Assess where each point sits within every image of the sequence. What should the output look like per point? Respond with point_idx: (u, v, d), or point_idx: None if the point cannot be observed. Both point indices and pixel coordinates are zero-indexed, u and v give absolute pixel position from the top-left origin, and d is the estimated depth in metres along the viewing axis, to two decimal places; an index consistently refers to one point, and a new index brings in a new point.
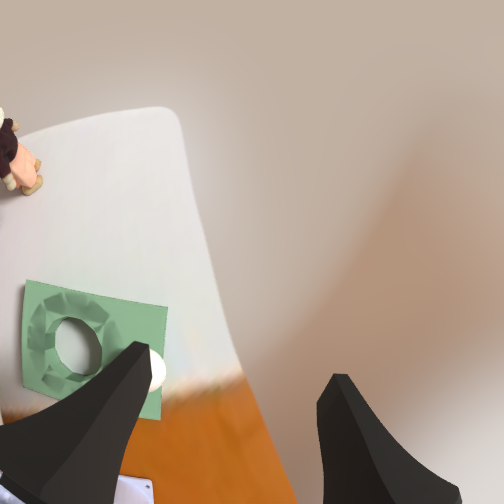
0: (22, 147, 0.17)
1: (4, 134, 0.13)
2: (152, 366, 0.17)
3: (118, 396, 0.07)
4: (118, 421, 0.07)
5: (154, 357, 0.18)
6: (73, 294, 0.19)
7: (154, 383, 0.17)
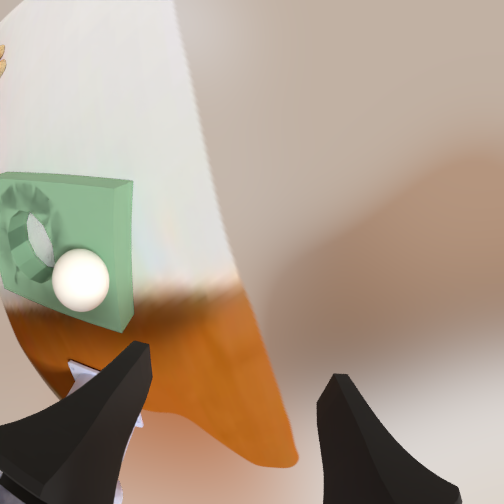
0: None
1: None
2: (76, 284, 0.12)
3: (118, 396, 0.07)
4: (118, 421, 0.07)
5: (82, 269, 0.12)
6: (21, 184, 0.13)
7: (83, 305, 0.12)
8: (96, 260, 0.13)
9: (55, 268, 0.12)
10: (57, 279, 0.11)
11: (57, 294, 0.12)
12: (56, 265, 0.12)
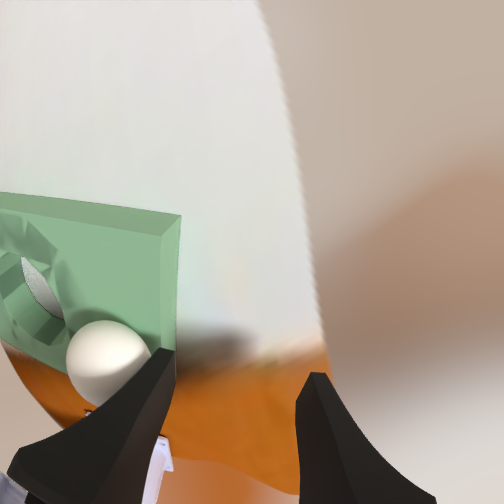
0: None
1: None
2: (104, 385, 0.07)
3: (149, 405, 0.07)
4: (147, 430, 0.07)
5: (112, 364, 0.07)
6: (6, 215, 0.08)
7: None
8: (133, 345, 0.09)
9: (69, 353, 0.07)
10: (74, 372, 0.07)
11: (76, 389, 0.07)
12: (71, 348, 0.08)
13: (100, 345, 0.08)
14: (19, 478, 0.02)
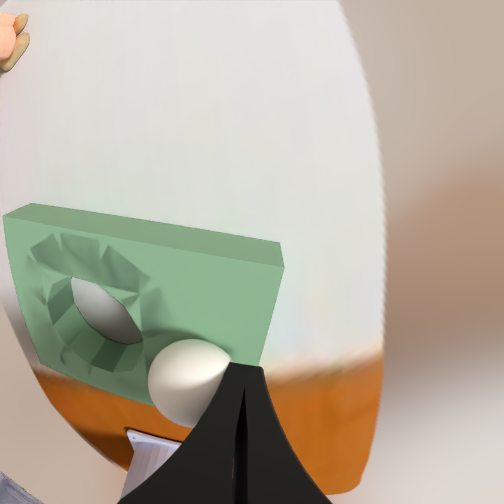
0: None
1: None
2: (185, 398, 0.08)
3: None
4: None
5: (201, 380, 0.08)
6: (73, 236, 0.09)
7: (188, 424, 0.08)
8: None
9: (158, 360, 0.09)
10: (156, 378, 0.08)
11: (151, 395, 0.08)
12: (161, 356, 0.09)
13: (194, 360, 0.08)
14: None
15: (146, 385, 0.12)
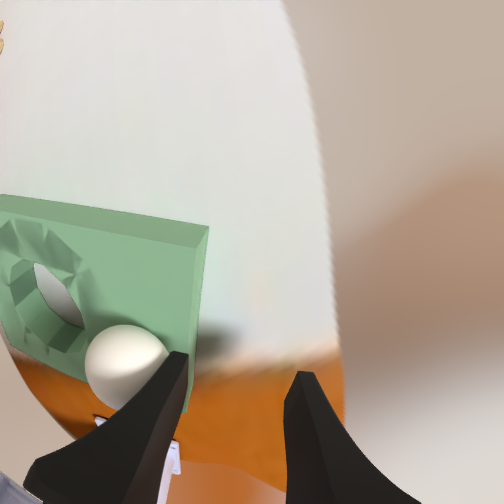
0: None
1: None
2: (119, 385, 0.07)
3: (166, 410, 0.07)
4: (163, 435, 0.07)
5: (130, 366, 0.08)
6: (24, 221, 0.09)
7: None
8: (155, 352, 0.09)
9: (90, 350, 0.08)
10: (91, 368, 0.08)
11: (90, 385, 0.08)
12: (92, 346, 0.08)
13: (121, 346, 0.08)
14: (38, 491, 0.02)
15: None
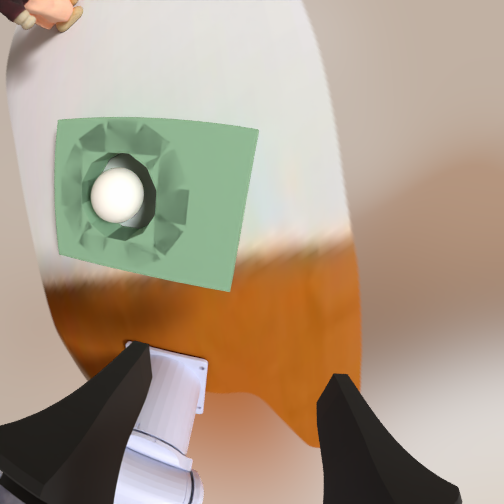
0: None
1: None
2: None
3: (118, 396, 0.07)
4: (118, 421, 0.07)
5: None
6: (118, 122, 0.13)
7: None
8: None
9: (138, 179, 0.16)
10: None
11: (141, 200, 0.16)
12: (136, 177, 0.16)
13: None
14: None
15: (152, 249, 0.16)
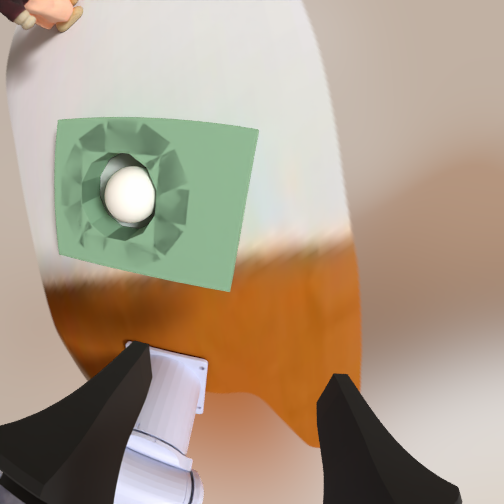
0: None
1: None
2: None
3: (118, 396, 0.07)
4: (118, 421, 0.07)
5: None
6: (118, 122, 0.13)
7: None
8: None
9: None
10: None
11: None
12: None
13: None
14: None
15: (152, 249, 0.16)
